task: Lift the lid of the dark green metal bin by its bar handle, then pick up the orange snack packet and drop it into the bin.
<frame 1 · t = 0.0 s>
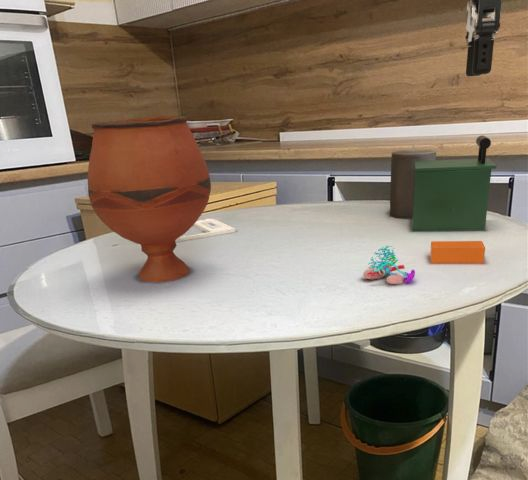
hand: (477, 75, 72), 27 cm above the table, tool pointing down, fingers open, 8 cm apart
bin lid: (453, 152, 104), point 14 cm above the table, hinge at 0.0°
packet: (455, 262, 88), on the table
pillar candle: (410, 215, 123), on the table
bin: (446, 226, 110), on the table
goblet: (164, 277, 91), on the table
photo frame: (186, 234, 120), on the table
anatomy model: (384, 283, 81), on the table
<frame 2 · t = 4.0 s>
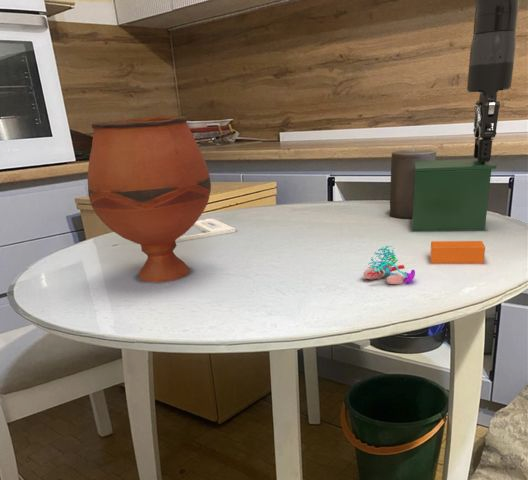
hand: (481, 159, 103), 13 cm above the table, tool pointing down, fingers closed on bin lid, 6 cm apart
bin lid: (453, 152, 104), point 14 cm above the table, hinge at 0.0°, touching gripper
everything else where it was.
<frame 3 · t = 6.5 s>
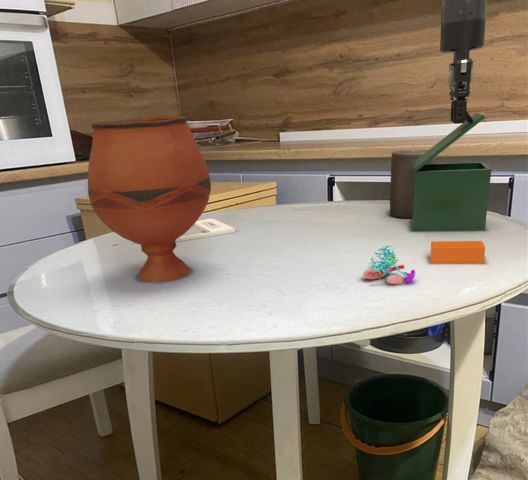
hand: (457, 122, 102), 20 cm above the table, tool pointing down, fingers closed on bin lid, 6 cm apart
bin lid: (440, 131, 103), point 18 cm above the table, hinge at 37.4°, touching gripper
everything else where it was.
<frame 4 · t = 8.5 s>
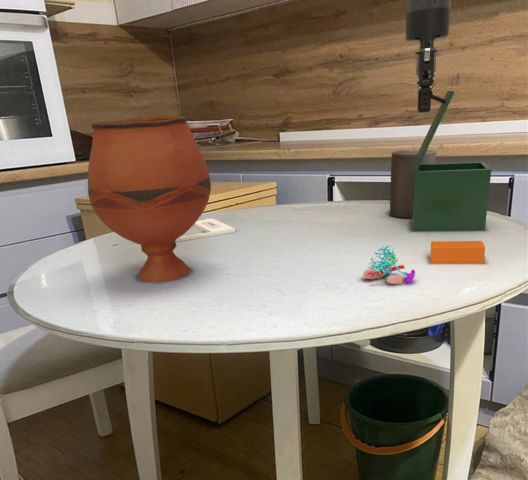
hand: (423, 111, 102), 22 cm above the table, tool pointing down, fingers closed on bin lid, 6 cm apart
bin lid: (421, 125, 103), point 20 cm above the table, hinge at 66.2°, touching gripper
everything else where it was.
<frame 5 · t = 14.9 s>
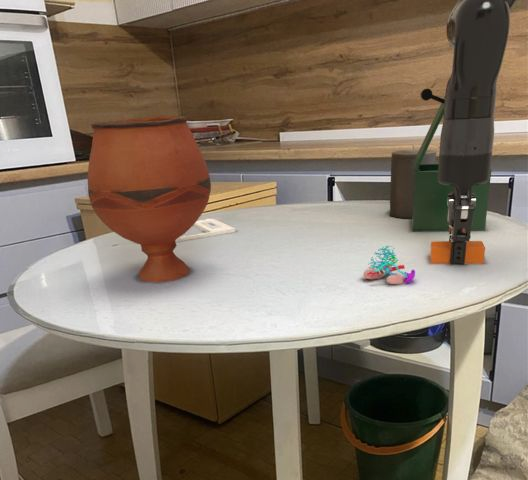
hand: (455, 260, 87), 0 cm above the table, tool pointing down, fingers closed on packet, 4 cm apart
bin lid: (421, 125, 103), point 20 cm above the table, hinge at 66.5°
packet: (455, 262, 88), on the table, touching gripper
everything else where it was.
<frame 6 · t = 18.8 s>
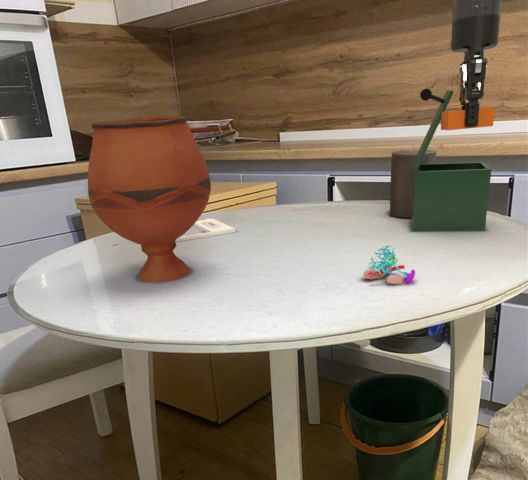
hand: (468, 126, 96), 19 cm above the table, tool pointing down, fingers closed on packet, 4 cm apart
bin lid: (420, 125, 103), point 20 cm above the table, hinge at 66.9°, touching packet
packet: (466, 127, 96), point 19 cm above the table, touching bin lid, gripper
everything else where it was.
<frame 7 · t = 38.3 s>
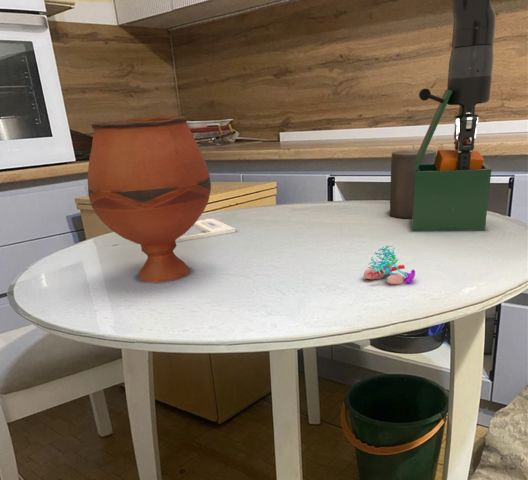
hand: (461, 171, 104), 11 cm above the table, tool pointing down, fingers closed on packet, 5 cm apart
bin lid: (420, 125, 103), point 20 cm above the table, hinge at 67.8°
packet: (456, 169, 105), point 11 cm above the table, tilted 19°, touching gripper
everything else where it was.
when the fingers open (14 cm above the table, at t = 39.4 s): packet drops 13 cm, resting on bin.
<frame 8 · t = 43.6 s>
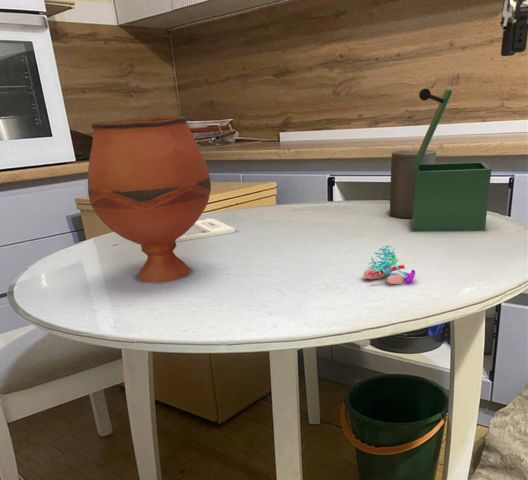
hand: (512, 54, 84), 30 cm above the table, tool pointing down, fingers open, 8 cm apart
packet: (453, 224, 108), point 1 cm above the table, touching bin
everything else where it was.
at the end: bin lid at +68° (first picture: +0°); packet inside the target area in the bin (1.9 cm from its centre), point 0.8 cm above the bin's base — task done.
